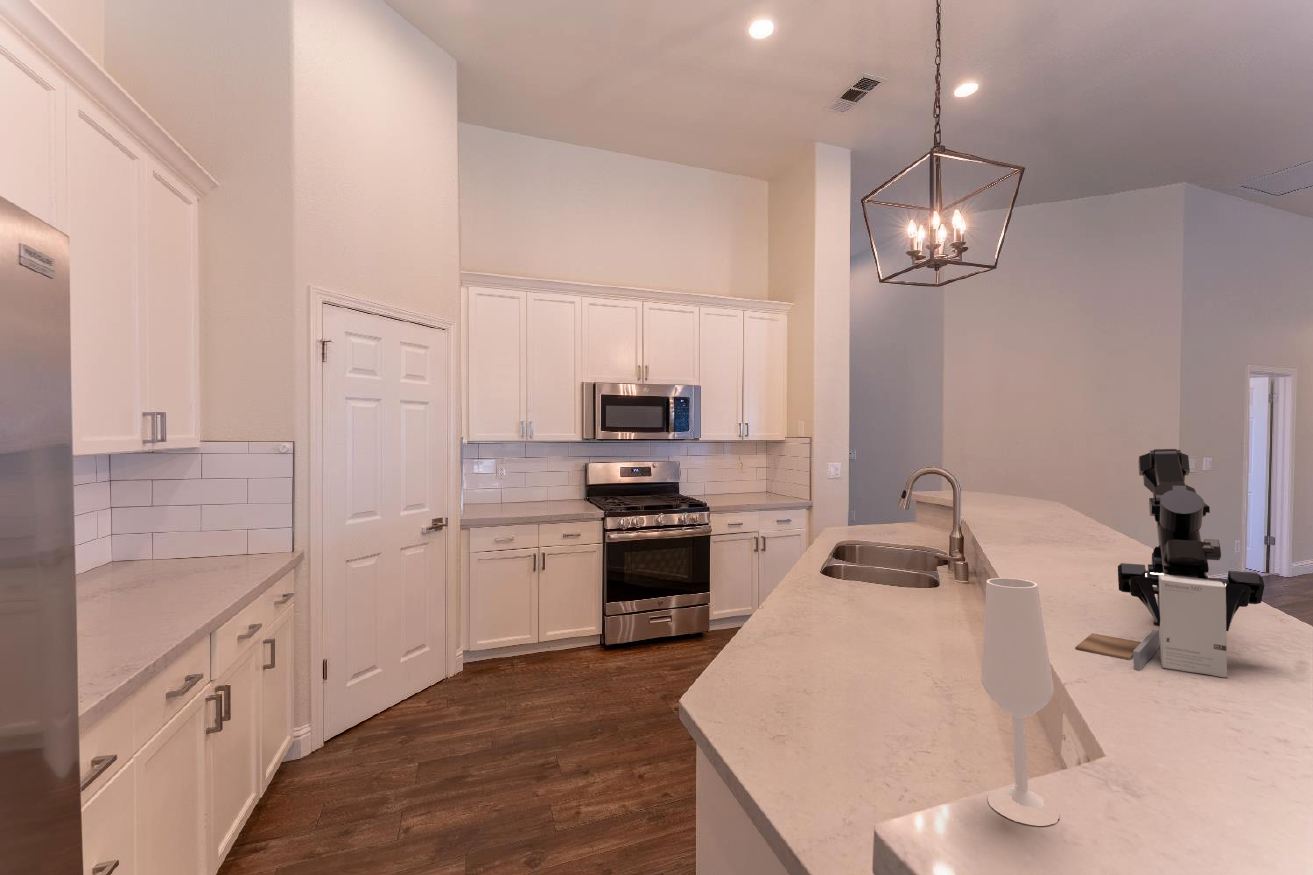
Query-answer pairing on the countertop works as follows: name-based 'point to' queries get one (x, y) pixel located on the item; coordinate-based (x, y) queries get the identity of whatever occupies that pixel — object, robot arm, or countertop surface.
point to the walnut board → (1108, 646)
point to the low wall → (1146, 649)
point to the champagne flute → (1016, 665)
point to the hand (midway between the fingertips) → (1191, 625)
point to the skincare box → (1193, 625)
